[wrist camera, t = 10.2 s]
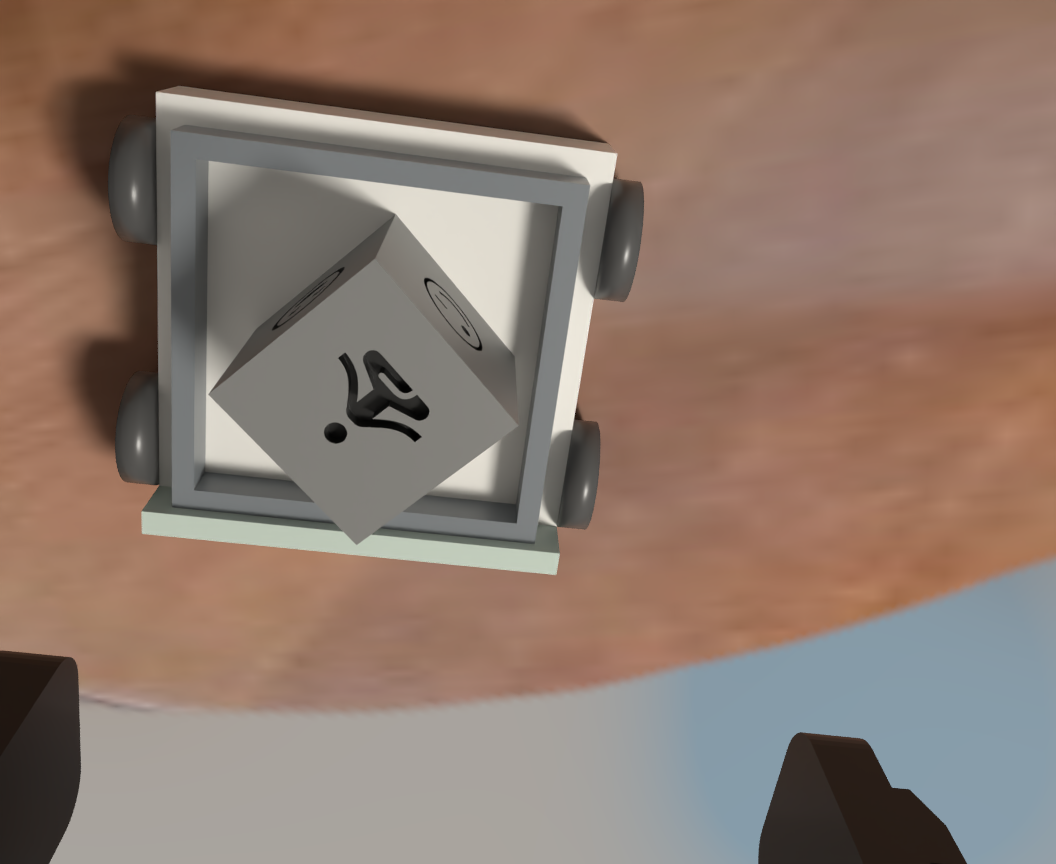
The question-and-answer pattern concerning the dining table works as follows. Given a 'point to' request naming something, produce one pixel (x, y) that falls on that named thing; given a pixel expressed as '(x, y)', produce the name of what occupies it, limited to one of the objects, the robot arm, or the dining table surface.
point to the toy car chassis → (319, 243)
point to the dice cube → (373, 383)
